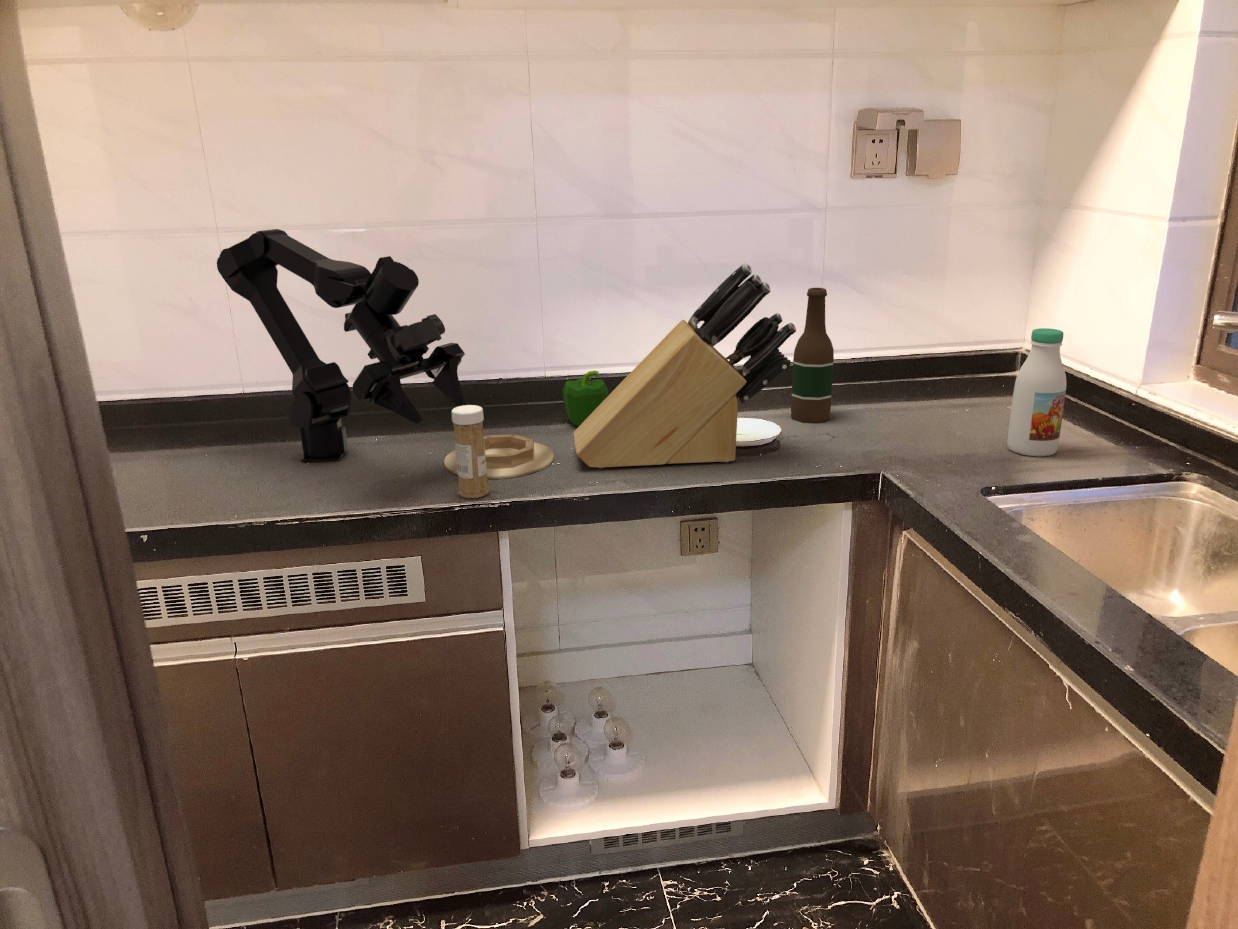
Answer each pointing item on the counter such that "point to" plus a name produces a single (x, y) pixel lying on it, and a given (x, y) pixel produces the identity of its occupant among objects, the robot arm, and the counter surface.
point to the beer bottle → (813, 365)
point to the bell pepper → (583, 397)
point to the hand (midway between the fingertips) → (442, 414)
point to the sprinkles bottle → (470, 451)
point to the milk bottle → (1039, 397)
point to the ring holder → (509, 456)
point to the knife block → (689, 386)
